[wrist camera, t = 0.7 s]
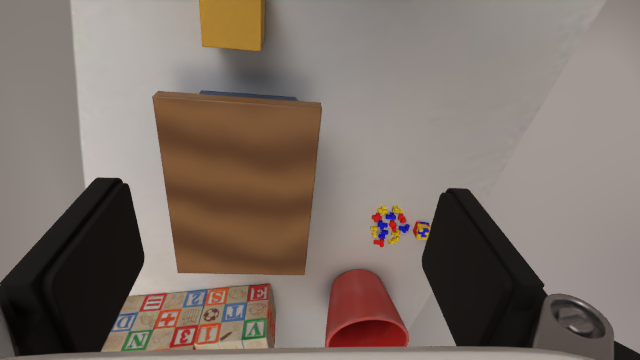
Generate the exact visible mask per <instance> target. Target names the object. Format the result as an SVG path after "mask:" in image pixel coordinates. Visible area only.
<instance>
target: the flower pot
mask: <svg viewBox="0 0 640 360" xmlns="http://www.w3.org/2000/svg"><path fill="white" fill-rule="evenodd" d="M408 341H409V335H408V331H407V329H406V327H405V325H404V323H403V321H402V319H401V317H400V315H399V313H398V312H397V310H396V308H395V306H394V304H393V302H392V300H391V298H390V296H389V294H388V292H387V290H386V288H385V287H384V285H383V283H382V281H381V280H380V278H379V277H378V276H377V275H376V274H374V273H372V272H370V271H367V270H352V271H348V272H346V273H343V274H342V275H340V276H339V277H338V278H336V280H335V281H334V282H333V284H332V288H331V294H330V301H329V309H328V318H327V327H326V339H325V347H407V345H408Z"/></svg>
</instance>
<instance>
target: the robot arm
mask: <svg viewBox="0 0 640 360" xmlns="http://www.w3.org/2000/svg"><path fill="white" fill-rule="evenodd" d="M143 264H144V251H143V246H142V242H141V237H140V233H139V228H138V224H137V219H136V215H135V210H134V206H133V201H132V197H131V192H130V188H129V185H128V184H127V183H123V182H122V180H121V179H120V178H96V179H95V180H94V181H93V182H92V183H91V184H90V185H89V186H88V187H87V188H86V190H85V191H84V192H83V193H82V194H81V195H80V196H79V197H78V198H77V199H76V200H75V202H74V203H73V204H72V205H71V206H70V207H69V208H68V209H67V210H66V211H65V213H64V214H63V215H62V216H61V217H60V218H59V219H58V220H57V221H56V222H55V223H54V225H53V226H52V227H51V228H50V229H49V230H48V231H47V232H46V233H45V234H44V235H43V237H42V238H41V239H40V240H39V241H38V242H37V243H36V244H35V245H34V246H33V247H32V249H31V250H30V251H29V252H28V253H27V254H26V255H25V256H24V257H23V258H22V260H21V261H20V262H19V263H18V264H17V265H16V266H15V267H14V268H13V270H11V272H10V273H9V274H8V275H7V276H6V277H5V278H4V279H3V280H2V281H1V283H0V285H1V286H0V360H640V354H639V353H637V352H635V351H633V350H631V349H629V348H627V347H626V346H623V345H622V344H620V343H618V342H616V341H614V332H613V328H612V326H611V325H610V323H609V321H608V320H607V319H606V318H605V317H604V316H603V315H602V314H601V313H600V312H599V311H598V310H597V309H595V308H594V307H593V306H591V305H590V304H588V303H586V302H584V301H582V300H581V299H578V298H576V297H573V296H570V295H565V294H551V295H549V296H548V295H547V294H546V292H545V291H544V290H543V287H544V284H543V282H542V281H541V280H540V279H539V277H538V276H537V275H536V274H535V272H534V271H533V270H532V269H531V267H530V266H529V265H528V263H527V262H526V261H525V260H524V258H523V257H522V256H521V255H520V253H519V252H518V251H517V250H516V248H515V247H514V246H513V245H512V243H511V242H510V241H509V239H508V238H507V237H506V236H505V234H504V233H503V232H502V231H501V229H500V228H499V227H498V226H497V224H496V223H495V222H494V221H493V219H492V218H491V217H490V216H489V214H488V213H487V212H486V211H485V210H484V208H483V207H482V205H481V204H480V203H479V202H478V200H477V199H476V198H475V197H474V195H473V194H472V193H471V192H470V190H468V189H459V188H449V189H447V191H446V192H445V193H442V194H441V195H440V198H439V201H438V204H437V208H436V211H435V215H434V218H433V222H432V225H431V228H430V232H429V235H428V239H427V242H426V246H425V249H424V252H423V256H422V267H423V270H424V272H425V274H426V277H427V279H428V281H429V284H430V286H431V288H432V290H433V293H434V295H435V297H436V300H437V302H438V304H439V306H440V309H441V311H442V313H443V316H444V318H445V320H446V322H447V325H448V327H449V330H450V332H451V334H452V336H453V339H454V341H455V343H456V346H434V347H433V346H430V347H429V346H426V347H425V346H423V347H325V348H257V349H202V350H153V351H115V352H101V350H102V348H103V346H104V344H105V342H106V340H107V338H108V336H109V334H110V332H111V330H112V328H113V326H114V324H115V322H116V320H117V318H118V316H119V314H120V311H121V309H122V307H123V305H124V303H125V301H126V299H127V297H128V295H129V293H130V291H131V289H132V287H133V285H134V283H135V281H136V279H137V277H138V275H139V273H140V271H141V269H142V267H143Z"/></svg>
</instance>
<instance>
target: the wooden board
mask: <svg viewBox="0 0 640 360" xmlns="http://www.w3.org/2000/svg"><path fill="white" fill-rule="evenodd" d="M153 104H154V111H155V118H156V125H157V132H158V139H159V146H160V152H161V159H162V166H163V173H164V180H165V187H166V194H167V201H168V208H169V215H170V222H171V229H172V236H173V243H174V249H175V256H176V263H177V270H178V273H214V274H264V275H305V266H306V257H307V247H308V237H309V228H310V218H311V208H312V199H313V189H314V180H315V170H316V160H317V151H318V141H319V131H320V122H321V112H322V107H321V103H318V102H304V101H290V100H276V99H262V98H248V97H234V96H220V95H206V94H192V93H178V92H164V91H158V92H157V93H156V94H155V95H154V96H153Z"/></svg>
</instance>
